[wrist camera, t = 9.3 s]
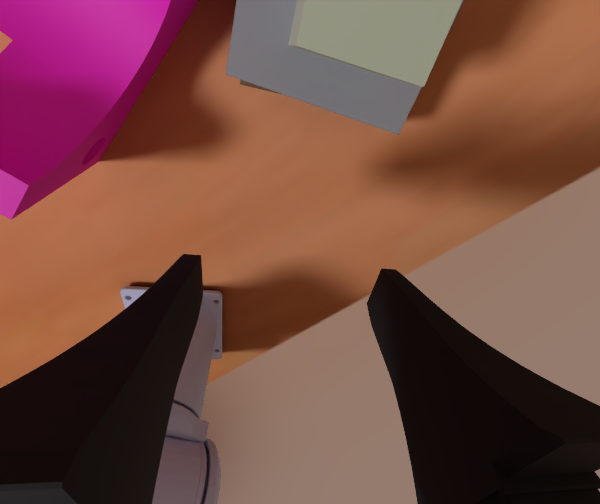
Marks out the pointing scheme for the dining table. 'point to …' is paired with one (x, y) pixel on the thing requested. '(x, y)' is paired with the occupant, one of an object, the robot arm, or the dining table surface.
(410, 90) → the slate top slab
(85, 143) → the toy block
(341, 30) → the sage cube
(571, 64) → the dining table surface
